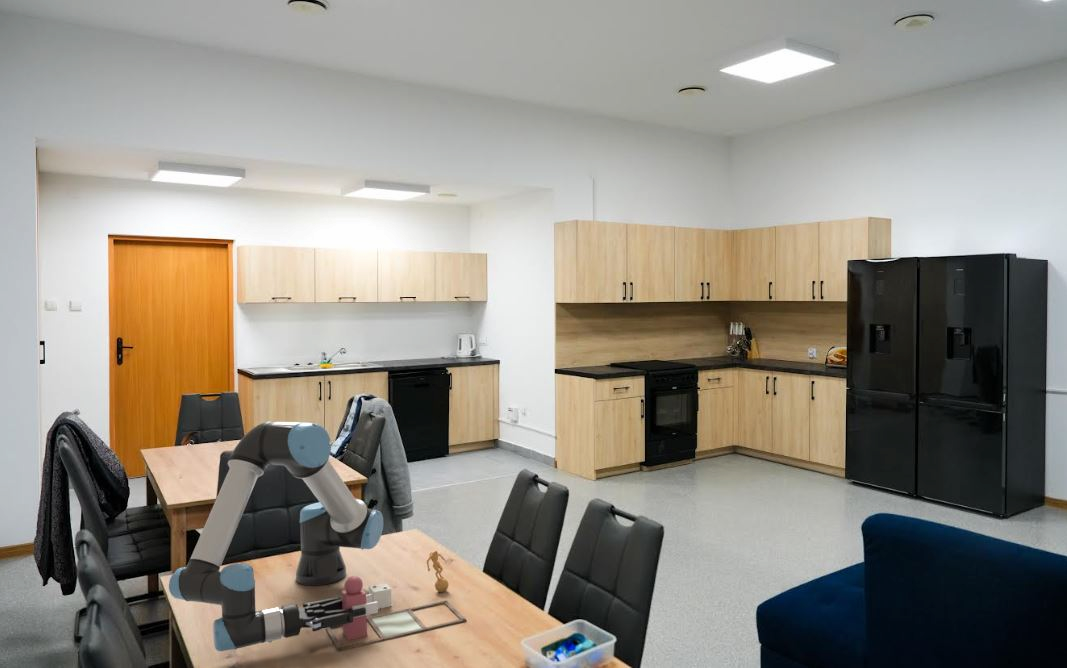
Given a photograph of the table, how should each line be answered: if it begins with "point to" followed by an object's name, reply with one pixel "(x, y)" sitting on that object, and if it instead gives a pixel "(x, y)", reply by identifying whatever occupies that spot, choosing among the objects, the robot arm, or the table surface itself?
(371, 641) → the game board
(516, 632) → the table surface
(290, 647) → the table surface
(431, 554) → the figurine
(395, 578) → the table surface
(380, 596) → the die
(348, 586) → the pawn
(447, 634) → the table surface
